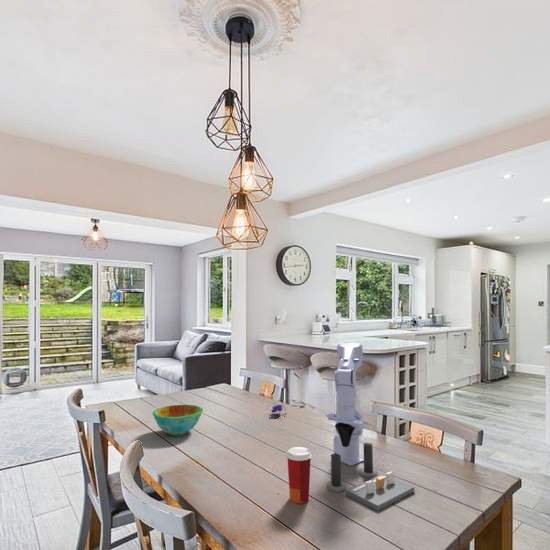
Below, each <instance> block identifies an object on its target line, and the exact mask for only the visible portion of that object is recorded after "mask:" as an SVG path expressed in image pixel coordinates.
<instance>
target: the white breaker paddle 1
mask: <svg viewBox="0 0 550 550" xmlns="http://www.w3.org/2000/svg"><path fill="white" fill-rule="evenodd" d="M368 480H369V479H368ZM366 481H367V480H366ZM364 482H365V481H364ZM365 488H366V493H367V494H371V493H373V492H375V489H374V482H373V481H372V480H369V481H367V482H365Z"/></svg>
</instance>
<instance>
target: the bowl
mask: <svg viewBox="0 0 550 550" xmlns="http://www.w3.org/2000/svg"><path fill="white" fill-rule="evenodd" d="M203 411H204V409H203V408H202V407H200V406H197V405H194V404H173V405H166V406H163V407H158V408H157V409H155V410H153V412H152V416H153V418H154V420H155V422H156V424H157V426H158V427H159V428H160V430H161V431H163V433H167V434H169V435H170V436H172V435H173V437H175V436H177V437H179V436H183V435H185V434H186V433H188V432H190V431H191V430H192V429H194V428H195V426H196V425H197V423H198V421H199V419H200V417H201V416H202V413H203Z"/></svg>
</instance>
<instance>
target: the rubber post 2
mask: <svg viewBox="0 0 550 550" xmlns="http://www.w3.org/2000/svg"><path fill="white" fill-rule="evenodd" d="M373 453H374V452H373V443H372V442H365V443H363V459H364V461H363V467H362V468H360V469H359V476H361V475H362V476H361V477H363V478H365V477H367V478H366V479H372V478H374V477H376V476H377V475H378V476H379V473H378V470H377V469H375V468H374V461H373V460H374V459H373V456H374V455H373Z"/></svg>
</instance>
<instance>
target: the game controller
mask: <svg viewBox="0 0 550 550" xmlns="http://www.w3.org/2000/svg"><path fill="white" fill-rule="evenodd" d="M271 404H272V405H273V404H274V403H271ZM268 407H269V406H267V407H266V408H267V409H268ZM283 408H284V409H285V411H287V410H286V408H285V406H283V405H282V404H276V405H273V406H272V409H271V414H272V413H273V414H275V413H276V414H277V415H278V414H281V412H282V411H283ZM278 412H279V413H278ZM286 415H287V412H285V413H284V416H286Z"/></svg>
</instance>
